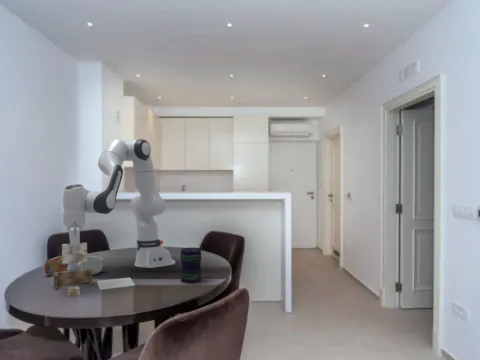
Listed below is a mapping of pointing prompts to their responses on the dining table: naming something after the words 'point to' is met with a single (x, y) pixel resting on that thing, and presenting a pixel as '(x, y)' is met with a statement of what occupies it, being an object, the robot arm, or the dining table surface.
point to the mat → (115, 283)
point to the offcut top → (73, 289)
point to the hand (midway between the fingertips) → (74, 252)
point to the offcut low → (74, 294)
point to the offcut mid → (73, 292)
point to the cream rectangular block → (72, 258)
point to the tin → (55, 266)
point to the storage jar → (190, 265)
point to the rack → (72, 277)
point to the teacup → (92, 264)
